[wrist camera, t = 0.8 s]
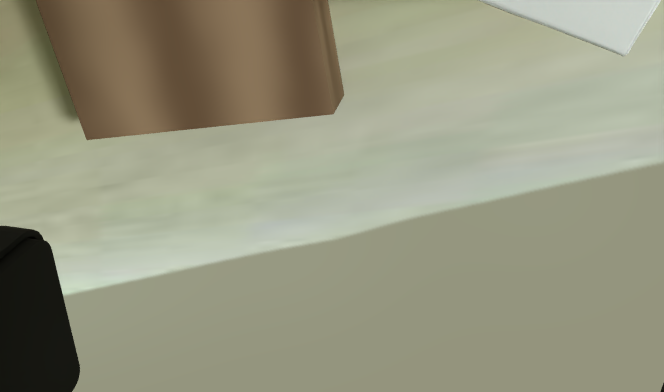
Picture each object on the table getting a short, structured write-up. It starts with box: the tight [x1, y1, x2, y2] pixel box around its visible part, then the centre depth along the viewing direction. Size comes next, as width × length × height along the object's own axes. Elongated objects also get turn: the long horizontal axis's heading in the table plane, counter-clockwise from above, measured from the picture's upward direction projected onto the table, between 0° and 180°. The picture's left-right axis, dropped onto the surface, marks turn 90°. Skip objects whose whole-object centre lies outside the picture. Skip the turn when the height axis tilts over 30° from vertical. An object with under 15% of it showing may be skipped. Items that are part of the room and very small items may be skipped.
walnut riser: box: [36, 0, 344, 140], centre depth 32 cm, size 14×12×3 cm
